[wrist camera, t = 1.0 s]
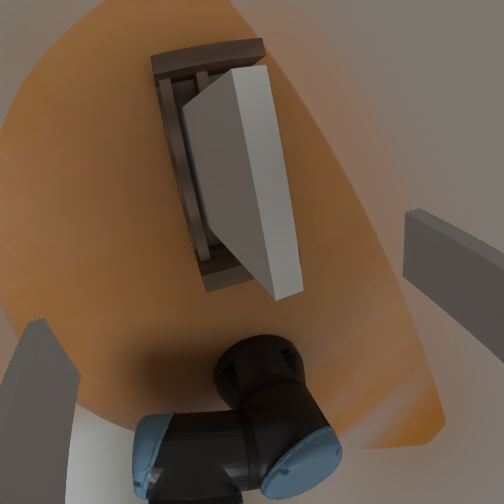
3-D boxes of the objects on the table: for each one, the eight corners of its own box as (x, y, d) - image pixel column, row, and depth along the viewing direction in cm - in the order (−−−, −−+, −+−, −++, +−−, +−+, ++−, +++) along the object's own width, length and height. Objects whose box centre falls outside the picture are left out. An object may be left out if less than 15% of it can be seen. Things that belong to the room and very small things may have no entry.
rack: (274, 239, 45) (301, 264, 36) (197, 260, 43) (206, 292, 35) (240, 58, 35) (262, 38, 27) (153, 74, 33) (150, 56, 25)
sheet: (218, 217, 40) (303, 290, 21) (203, 221, 40) (275, 301, 20) (194, 107, 35) (266, 64, 15) (178, 110, 34) (231, 68, 15)
